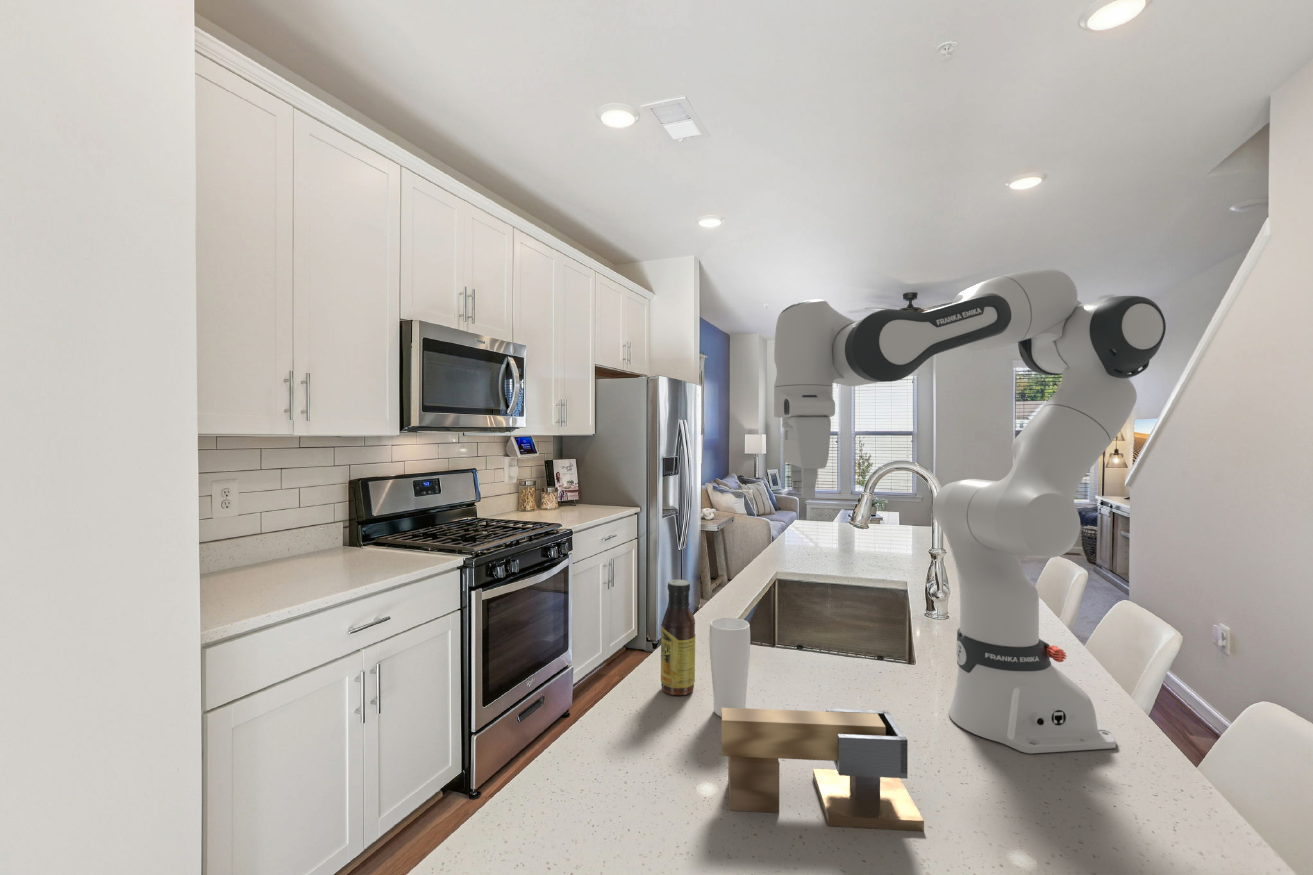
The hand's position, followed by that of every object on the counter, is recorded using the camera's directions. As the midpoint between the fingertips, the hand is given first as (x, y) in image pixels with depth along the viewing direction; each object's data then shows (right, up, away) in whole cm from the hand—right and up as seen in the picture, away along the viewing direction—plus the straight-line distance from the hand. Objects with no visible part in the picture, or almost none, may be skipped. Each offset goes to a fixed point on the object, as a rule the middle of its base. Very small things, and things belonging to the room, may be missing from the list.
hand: (802, 495), depth 92 cm
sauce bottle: (-19, -37, +16) cm, 45 cm away
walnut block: (-10, -37, -16) cm, 42 cm away
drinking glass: (-10, -37, +7) cm, 39 cm away
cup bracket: (+4, -37, -17) cm, 41 cm away
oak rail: (-4, -31, -17) cm, 36 cm away
